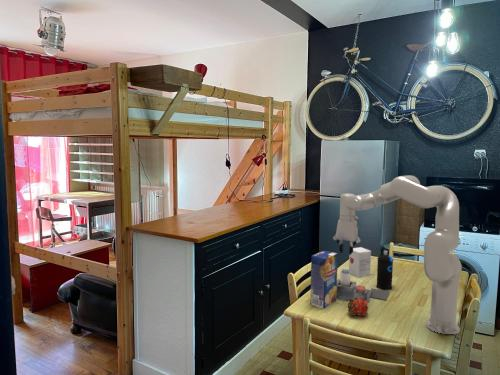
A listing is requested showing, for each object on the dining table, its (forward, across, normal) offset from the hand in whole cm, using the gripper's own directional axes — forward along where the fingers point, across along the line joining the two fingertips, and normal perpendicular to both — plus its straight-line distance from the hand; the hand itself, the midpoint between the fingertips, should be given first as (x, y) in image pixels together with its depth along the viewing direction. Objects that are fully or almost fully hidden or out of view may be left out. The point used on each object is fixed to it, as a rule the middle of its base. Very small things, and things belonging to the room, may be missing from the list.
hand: (346, 252), depth 190 cm
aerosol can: (+22, -17, -18) cm, 33 cm away
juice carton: (+22, +6, +17) cm, 28 cm away
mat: (+21, -16, -6) cm, 27 cm away
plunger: (+19, -9, +6) cm, 22 cm away
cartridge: (+19, 0, 0) cm, 19 cm away
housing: (+21, -4, +2) cm, 22 cm away
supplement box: (+22, -1, -32) cm, 39 cm away
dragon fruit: (+22, -11, +22) cm, 32 cm away
